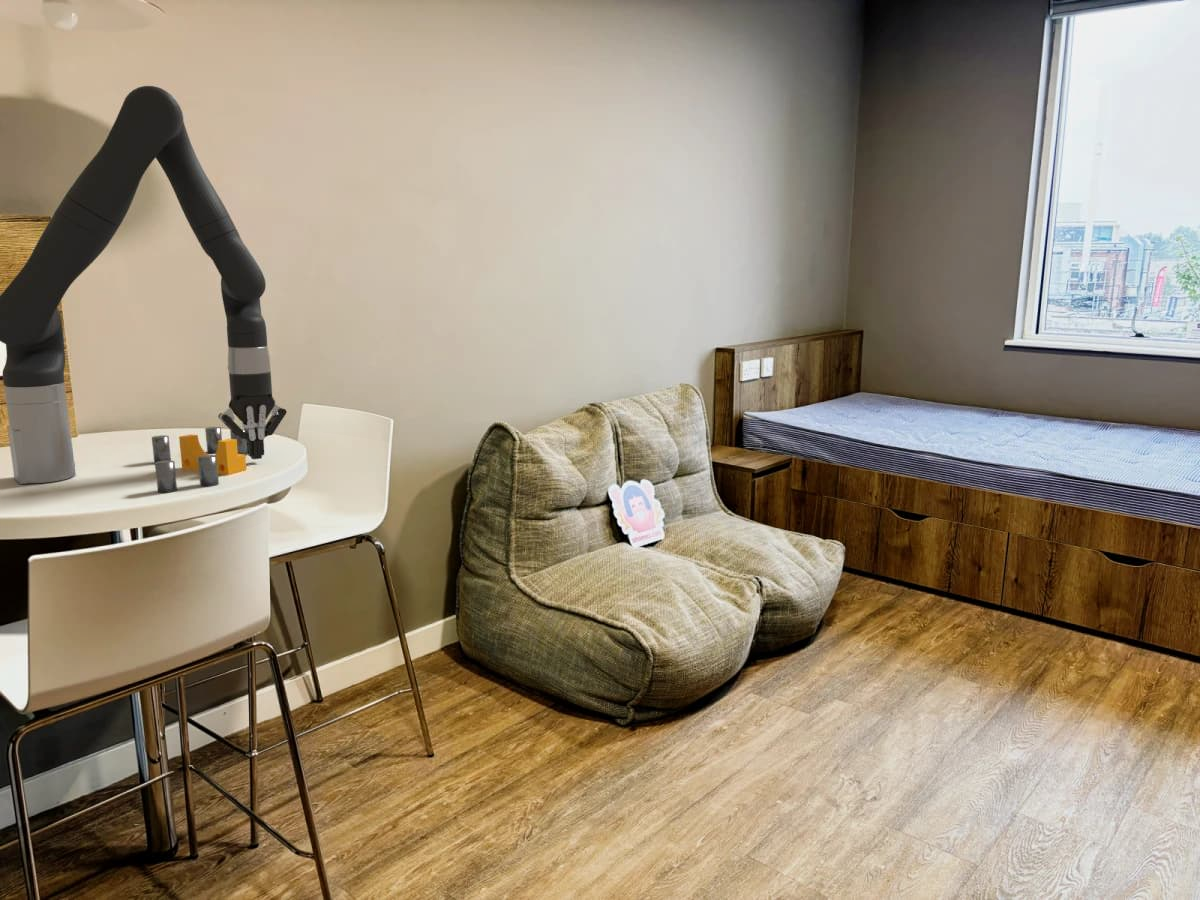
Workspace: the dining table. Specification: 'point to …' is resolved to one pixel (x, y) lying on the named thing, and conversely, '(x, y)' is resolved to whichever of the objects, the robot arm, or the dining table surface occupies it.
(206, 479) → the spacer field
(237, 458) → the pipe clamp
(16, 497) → the dining table surface
